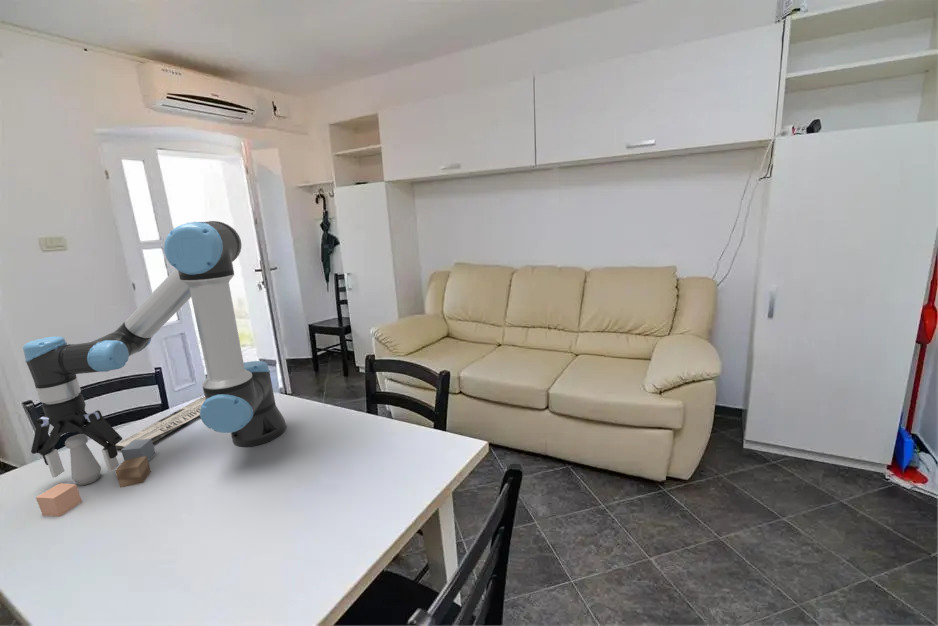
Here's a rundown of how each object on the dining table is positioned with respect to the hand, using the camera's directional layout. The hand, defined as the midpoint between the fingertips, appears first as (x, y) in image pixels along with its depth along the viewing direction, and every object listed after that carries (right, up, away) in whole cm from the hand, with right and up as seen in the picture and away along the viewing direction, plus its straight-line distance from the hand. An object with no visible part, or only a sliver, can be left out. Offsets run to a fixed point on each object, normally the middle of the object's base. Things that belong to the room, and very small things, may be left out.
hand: (86, 471), depth 110 cm
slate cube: (+7, 0, +9) cm, 12 cm away
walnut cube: (+13, -2, 0) cm, 13 cm away
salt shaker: (0, -3, +1) cm, 3 cm away
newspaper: (+4, +4, +29) cm, 30 cm away
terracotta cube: (+3, -5, -10) cm, 12 cm away
